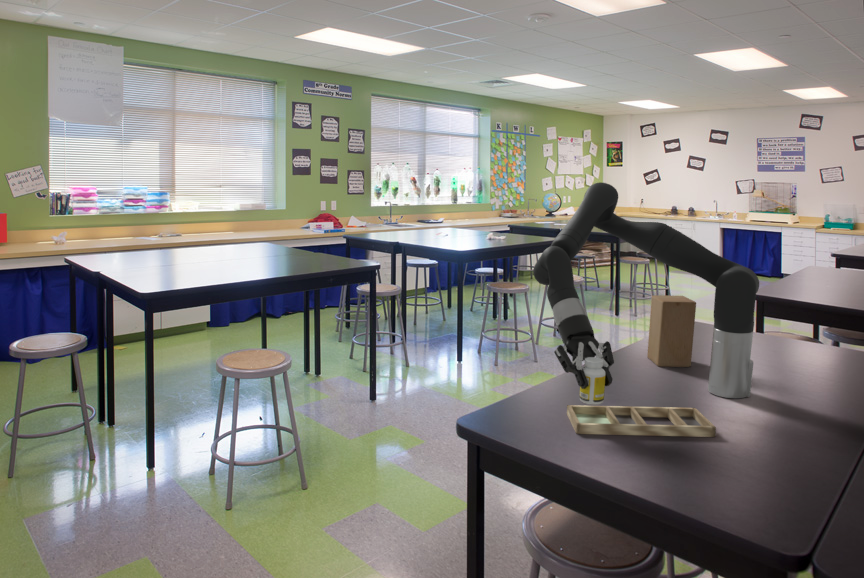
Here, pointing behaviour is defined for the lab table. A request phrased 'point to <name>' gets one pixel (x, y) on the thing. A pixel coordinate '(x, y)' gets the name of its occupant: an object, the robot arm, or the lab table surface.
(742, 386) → the robot arm
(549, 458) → the lab table surface
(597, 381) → the supplement bottle
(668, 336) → the wooden block
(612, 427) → the wooden compartment tray
